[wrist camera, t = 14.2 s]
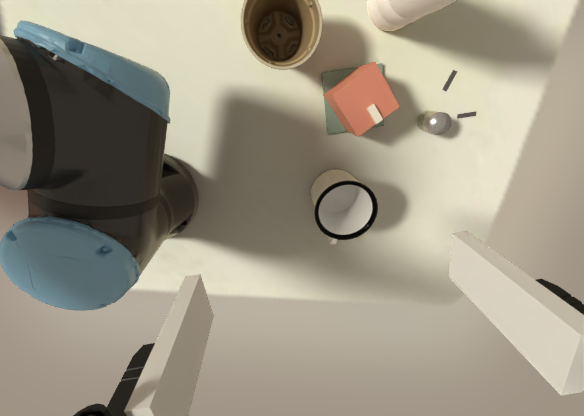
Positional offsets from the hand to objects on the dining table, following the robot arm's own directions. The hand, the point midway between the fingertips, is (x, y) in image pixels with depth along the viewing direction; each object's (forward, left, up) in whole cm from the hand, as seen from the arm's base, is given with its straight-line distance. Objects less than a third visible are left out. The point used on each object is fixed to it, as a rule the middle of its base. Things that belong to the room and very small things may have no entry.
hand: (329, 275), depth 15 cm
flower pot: (+1, +16, -35) cm, 38 cm away
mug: (+6, -10, -35) cm, 37 cm away
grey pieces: (+26, +4, -35) cm, 44 cm away
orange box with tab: (+11, +6, -34) cm, 36 cm away
